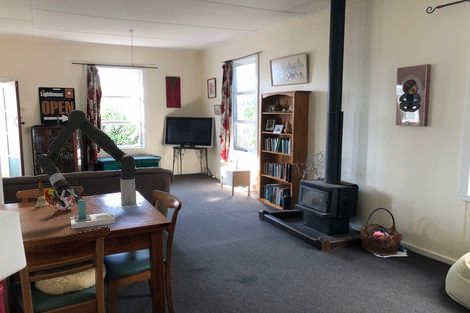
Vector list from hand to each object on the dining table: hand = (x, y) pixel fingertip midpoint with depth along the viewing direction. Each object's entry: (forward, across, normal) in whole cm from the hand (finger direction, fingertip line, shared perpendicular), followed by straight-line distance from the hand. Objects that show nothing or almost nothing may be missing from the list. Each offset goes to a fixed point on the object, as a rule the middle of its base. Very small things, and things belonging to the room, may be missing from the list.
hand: (71, 204), depth 202 cm
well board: (+15, +4, -2) cm, 16 cm away
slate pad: (+11, 0, -2) cm, 11 cm away
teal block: (+11, 0, -2) cm, 11 cm away
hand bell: (-29, +11, +43) cm, 52 cm away
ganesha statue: (-11, +9, +25) cm, 29 cm away
